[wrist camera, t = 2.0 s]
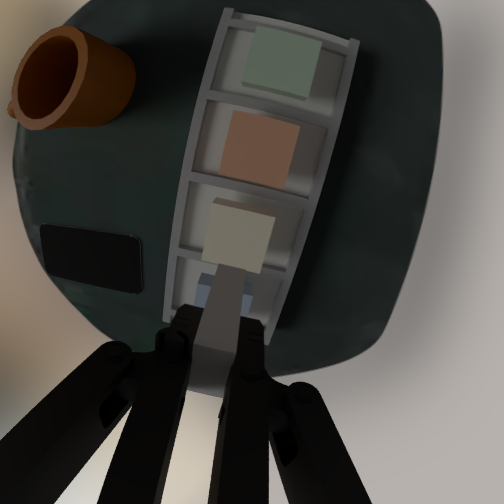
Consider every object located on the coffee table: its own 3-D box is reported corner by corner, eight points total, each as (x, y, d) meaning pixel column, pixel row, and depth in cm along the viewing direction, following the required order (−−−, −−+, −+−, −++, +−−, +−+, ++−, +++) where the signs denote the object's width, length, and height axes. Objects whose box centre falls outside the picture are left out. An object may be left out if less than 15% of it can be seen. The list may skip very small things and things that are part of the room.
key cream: (216, 197, 22) (212, 202, 20) (274, 210, 22) (275, 217, 21) (205, 250, 24) (201, 260, 22) (259, 263, 24) (259, 273, 23)
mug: (51, 67, 20) (-2, 58, 11) (140, 40, 20) (96, 9, 11) (46, 138, 23) (-10, 147, 15) (134, 122, 23) (83, 118, 15)
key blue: (201, 272, 25) (197, 283, 23) (253, 284, 25) (253, 296, 23) (194, 313, 27) (190, 326, 25) (242, 324, 27) (241, 337, 25)
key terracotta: (235, 112, 19) (233, 109, 18) (297, 127, 20) (300, 126, 18) (222, 170, 21) (218, 174, 19) (281, 184, 22) (283, 189, 20)
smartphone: (142, 296, 30) (46, 274, 30) (144, 293, 31) (49, 272, 30) (139, 236, 27) (38, 222, 27) (141, 234, 28) (41, 221, 27)
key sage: (257, 34, 17) (256, 25, 15) (317, 49, 17) (322, 41, 15) (242, 86, 19) (240, 81, 17) (303, 101, 19) (308, 97, 17)
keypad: (226, 18, 19) (222, 7, 16) (352, 50, 19) (361, 42, 17) (167, 306, 31) (160, 320, 28) (269, 329, 32) (270, 345, 29)
